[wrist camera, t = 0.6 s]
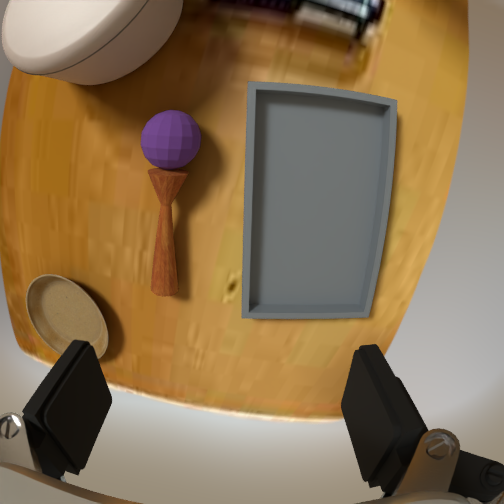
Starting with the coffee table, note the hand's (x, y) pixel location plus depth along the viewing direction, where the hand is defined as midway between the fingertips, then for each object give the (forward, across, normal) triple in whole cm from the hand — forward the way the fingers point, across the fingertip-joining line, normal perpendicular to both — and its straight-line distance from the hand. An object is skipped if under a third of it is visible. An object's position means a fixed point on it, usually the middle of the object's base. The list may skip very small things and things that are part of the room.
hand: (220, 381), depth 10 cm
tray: (+25, -8, -2) cm, 26 cm away
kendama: (+25, +8, -2) cm, 26 cm away
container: (+24, +15, -25) cm, 38 cm away
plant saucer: (+26, +25, +14) cm, 38 cm away
